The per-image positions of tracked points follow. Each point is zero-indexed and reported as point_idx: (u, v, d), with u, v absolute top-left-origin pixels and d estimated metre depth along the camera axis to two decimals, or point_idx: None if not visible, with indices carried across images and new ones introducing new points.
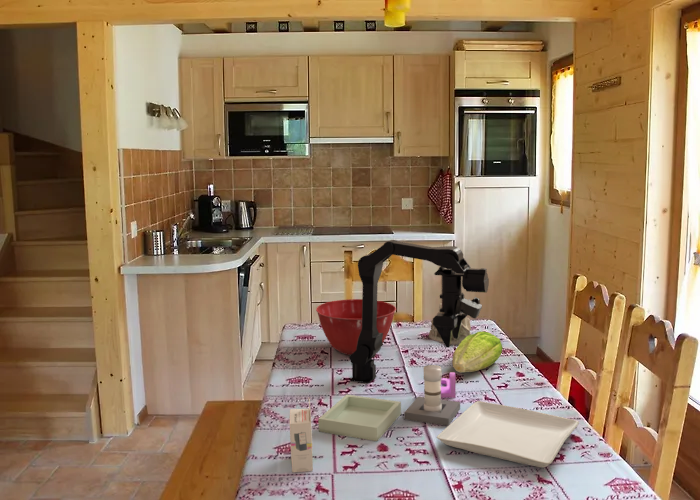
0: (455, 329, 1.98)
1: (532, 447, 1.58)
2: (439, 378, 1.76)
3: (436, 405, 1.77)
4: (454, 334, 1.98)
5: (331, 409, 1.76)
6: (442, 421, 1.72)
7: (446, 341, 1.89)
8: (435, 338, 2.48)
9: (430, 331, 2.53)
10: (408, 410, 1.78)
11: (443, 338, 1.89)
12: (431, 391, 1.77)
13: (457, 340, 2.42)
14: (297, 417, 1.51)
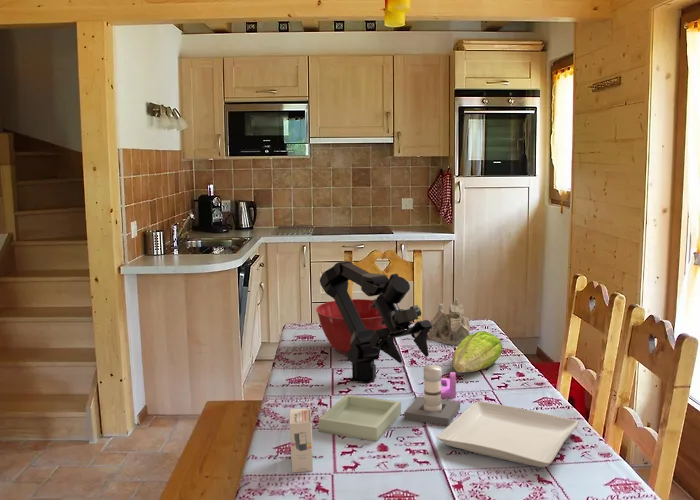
0: (422, 347, 1.88)
1: (532, 447, 1.58)
2: (439, 378, 1.76)
3: (436, 404, 1.77)
4: (424, 353, 1.87)
5: (331, 409, 1.76)
6: (442, 421, 1.72)
7: (395, 357, 1.82)
8: (434, 338, 2.48)
9: (429, 331, 2.53)
10: (408, 410, 1.78)
11: (392, 356, 1.83)
12: (431, 391, 1.77)
13: (456, 340, 2.42)
14: (297, 417, 1.51)
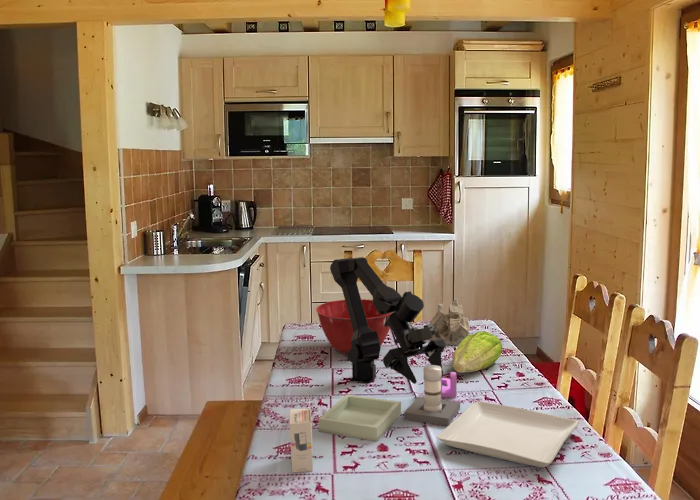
0: None
1: (532, 447, 1.58)
2: (439, 378, 1.76)
3: (436, 404, 1.77)
4: None
5: (331, 409, 1.76)
6: (442, 421, 1.72)
7: (410, 377, 1.78)
8: (434, 338, 2.48)
9: None
10: (408, 410, 1.78)
11: (406, 376, 1.79)
12: (431, 391, 1.77)
13: (456, 340, 2.42)
14: (297, 417, 1.51)
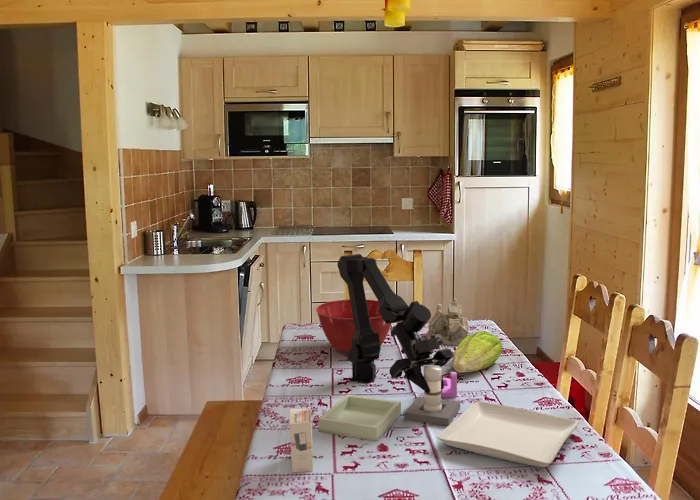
0: None
1: (532, 447, 1.58)
2: (439, 378, 1.76)
3: (436, 404, 1.77)
4: None
5: (331, 409, 1.76)
6: (442, 421, 1.72)
7: (423, 387, 1.77)
8: None
9: (428, 331, 2.52)
10: (408, 410, 1.78)
11: (419, 385, 1.78)
12: (431, 391, 1.77)
13: (455, 340, 2.42)
14: (297, 417, 1.51)
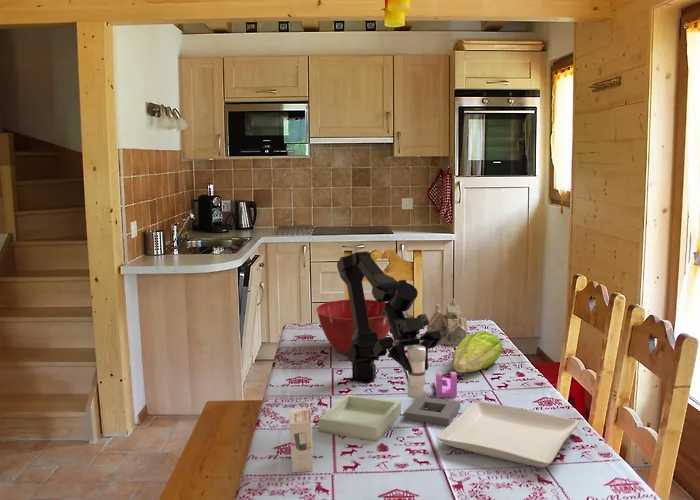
0: None
1: (532, 447, 1.58)
2: (422, 358, 1.73)
3: (418, 385, 1.74)
4: None
5: (331, 409, 1.76)
6: (442, 421, 1.72)
7: (405, 366, 1.74)
8: None
9: None
10: (408, 410, 1.78)
11: (402, 365, 1.75)
12: (413, 371, 1.73)
13: (454, 341, 2.41)
14: (297, 417, 1.51)
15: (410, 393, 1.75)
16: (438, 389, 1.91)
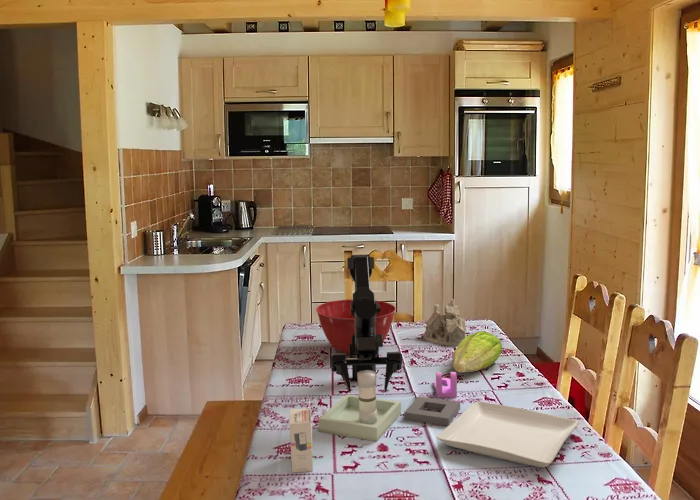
0: None
1: (532, 447, 1.58)
2: (368, 385, 1.70)
3: (365, 411, 1.72)
4: (384, 387, 1.73)
5: (331, 409, 1.76)
6: (442, 421, 1.72)
7: (346, 385, 1.73)
8: (430, 339, 2.47)
9: (425, 332, 2.52)
10: (408, 410, 1.78)
11: (345, 383, 1.74)
12: (361, 396, 1.72)
13: (452, 341, 2.41)
14: (297, 417, 1.51)
15: (359, 418, 1.73)
16: (438, 389, 1.91)
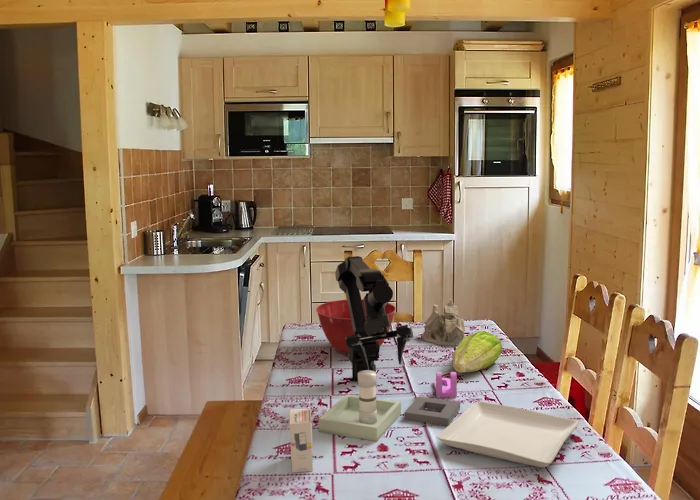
0: None
1: (532, 447, 1.58)
2: (369, 385, 1.70)
3: (365, 411, 1.72)
4: None
5: (331, 409, 1.76)
6: (442, 421, 1.72)
7: (364, 363, 1.87)
8: (429, 339, 2.46)
9: (424, 332, 2.51)
10: (408, 410, 1.78)
11: None
12: (361, 396, 1.72)
13: (451, 341, 2.41)
14: (297, 417, 1.51)
15: (359, 417, 1.73)
16: (438, 389, 1.91)
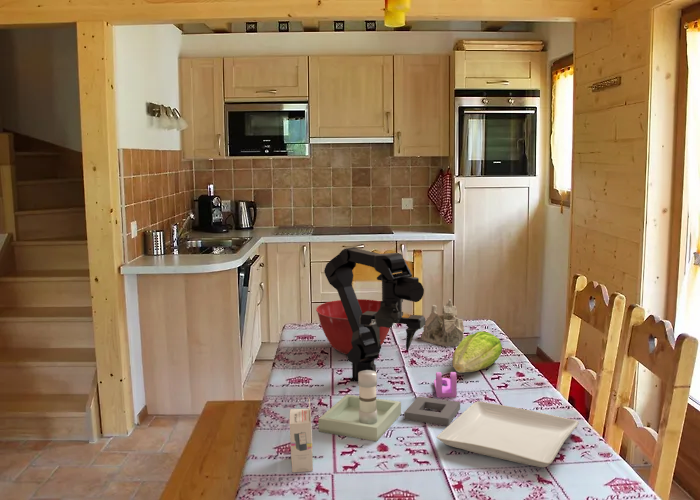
0: None
1: (532, 447, 1.58)
2: (369, 384, 1.70)
3: (365, 411, 1.72)
4: None
5: (331, 409, 1.76)
6: (442, 421, 1.72)
7: None
8: (428, 340, 2.46)
9: (423, 333, 2.51)
10: (408, 410, 1.78)
11: None
12: (361, 396, 1.72)
13: (450, 342, 2.40)
14: (297, 417, 1.51)
15: (359, 417, 1.73)
16: (438, 389, 1.91)
